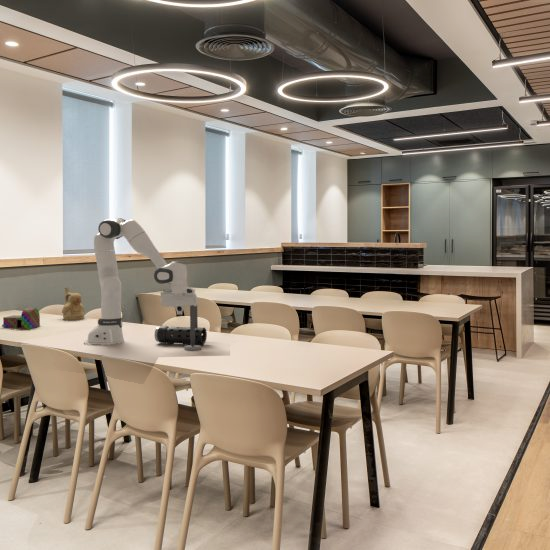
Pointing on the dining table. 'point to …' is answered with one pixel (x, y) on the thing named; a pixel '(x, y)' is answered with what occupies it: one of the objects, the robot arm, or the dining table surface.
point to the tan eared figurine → (72, 306)
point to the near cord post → (192, 332)
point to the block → (23, 319)
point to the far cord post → (196, 317)
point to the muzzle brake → (179, 335)
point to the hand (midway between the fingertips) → (179, 314)
